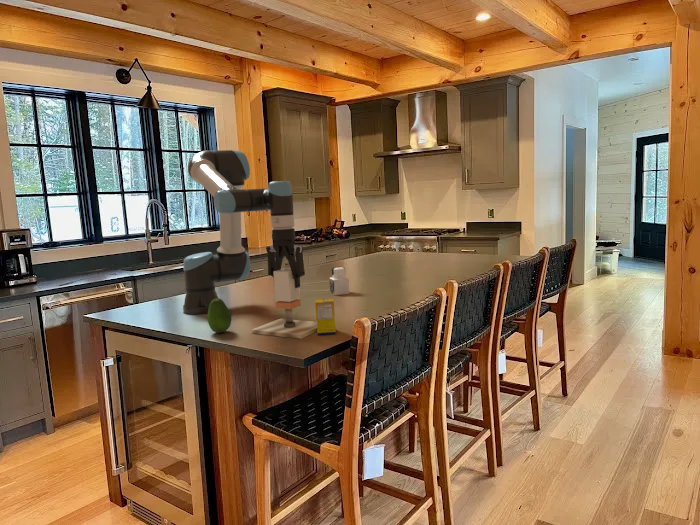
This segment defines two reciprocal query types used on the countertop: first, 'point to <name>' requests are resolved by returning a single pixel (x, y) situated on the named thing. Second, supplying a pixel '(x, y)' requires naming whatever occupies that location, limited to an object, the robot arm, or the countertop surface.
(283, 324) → the pipe stand
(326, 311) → the supplement box
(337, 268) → the medicine bottle
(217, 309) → the avocado
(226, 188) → the robot arm
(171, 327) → the countertop surface
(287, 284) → the sleeve
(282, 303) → the ring
